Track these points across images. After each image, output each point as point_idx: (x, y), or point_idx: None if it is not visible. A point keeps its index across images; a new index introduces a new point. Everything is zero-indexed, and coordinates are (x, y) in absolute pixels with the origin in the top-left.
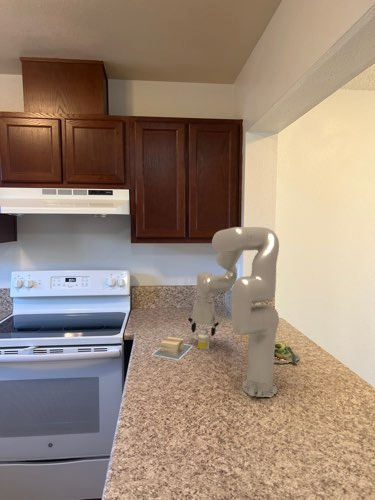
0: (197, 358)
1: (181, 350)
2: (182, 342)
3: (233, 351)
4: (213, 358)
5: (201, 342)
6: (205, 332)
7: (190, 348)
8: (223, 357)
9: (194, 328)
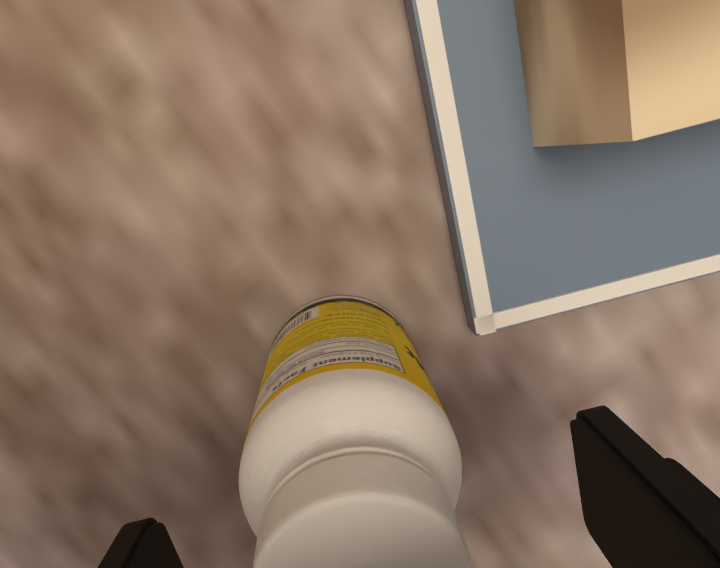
0: (234, 75)
1: (527, 69)
2: (595, 89)
3: (41, 527)
4: (75, 217)
5: (328, 338)
6: (269, 519)
7: (464, 231)
8: (5, 323)
9: (623, 521)
